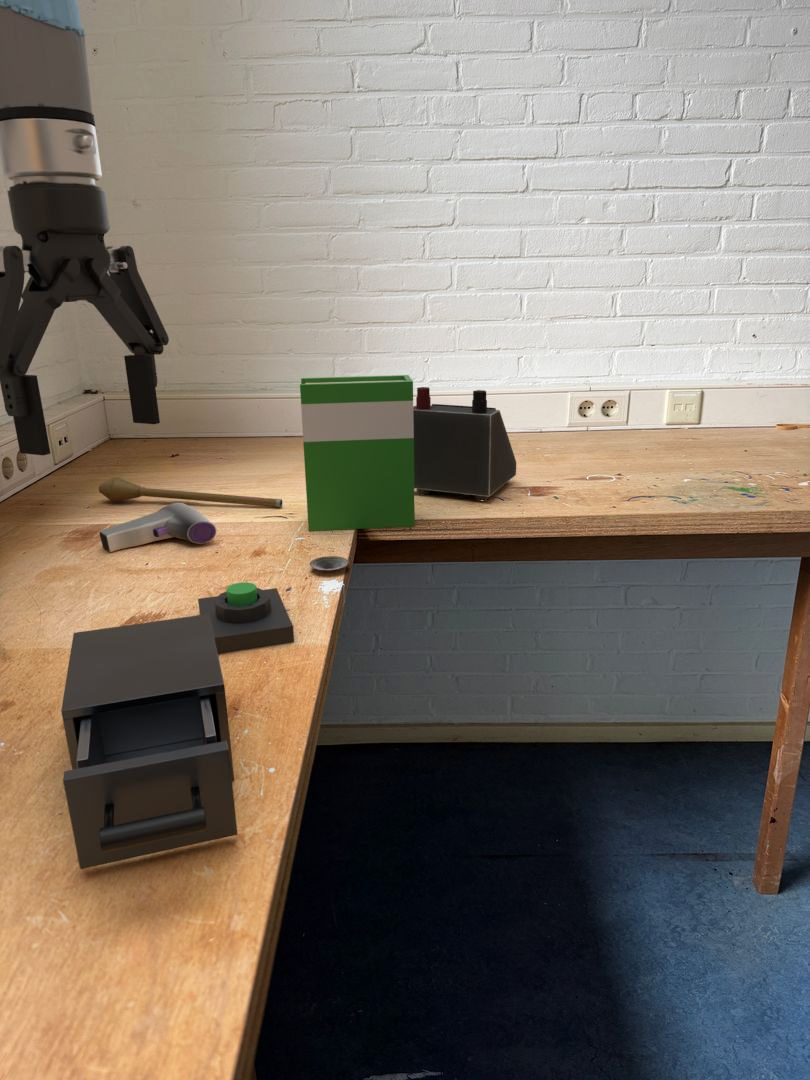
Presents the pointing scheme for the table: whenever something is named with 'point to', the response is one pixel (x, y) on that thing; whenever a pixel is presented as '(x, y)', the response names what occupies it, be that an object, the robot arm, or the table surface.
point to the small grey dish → (329, 563)
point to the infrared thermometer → (160, 528)
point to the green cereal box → (358, 451)
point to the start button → (241, 593)
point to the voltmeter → (460, 447)
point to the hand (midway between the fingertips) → (95, 437)
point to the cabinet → (143, 672)
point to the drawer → (149, 782)
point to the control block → (248, 622)
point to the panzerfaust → (176, 494)
